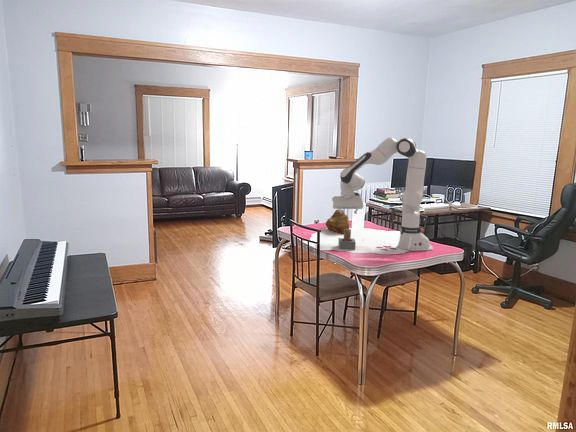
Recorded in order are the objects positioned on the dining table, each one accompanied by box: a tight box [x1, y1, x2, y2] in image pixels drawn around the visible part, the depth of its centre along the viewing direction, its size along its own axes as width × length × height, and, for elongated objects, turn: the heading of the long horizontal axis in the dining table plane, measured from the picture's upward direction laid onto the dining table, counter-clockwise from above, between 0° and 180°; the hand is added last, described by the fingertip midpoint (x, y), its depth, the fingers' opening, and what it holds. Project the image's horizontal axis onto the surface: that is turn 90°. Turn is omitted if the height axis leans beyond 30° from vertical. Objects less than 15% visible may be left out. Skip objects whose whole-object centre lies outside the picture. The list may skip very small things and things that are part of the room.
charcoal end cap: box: [337, 237, 357, 251], centre depth 275 cm, size 10×9×5 cm
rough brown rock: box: [325, 209, 350, 234], centre depth 329 cm, size 23×17×15 cm
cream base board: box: [338, 245, 372, 252], centre depth 275 cm, size 20×11×2 cm, turn 87°
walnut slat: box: [343, 228, 352, 241], centre depth 274 cm, size 4×3×12 cm
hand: (348, 213), depth 285 cm, fingers open, 8 cm apart
